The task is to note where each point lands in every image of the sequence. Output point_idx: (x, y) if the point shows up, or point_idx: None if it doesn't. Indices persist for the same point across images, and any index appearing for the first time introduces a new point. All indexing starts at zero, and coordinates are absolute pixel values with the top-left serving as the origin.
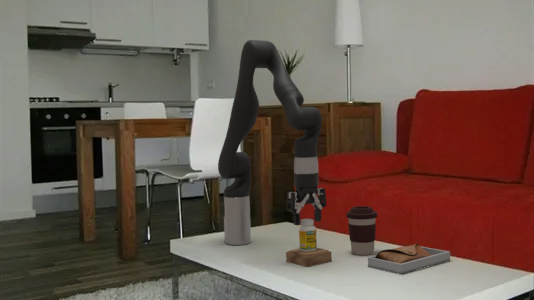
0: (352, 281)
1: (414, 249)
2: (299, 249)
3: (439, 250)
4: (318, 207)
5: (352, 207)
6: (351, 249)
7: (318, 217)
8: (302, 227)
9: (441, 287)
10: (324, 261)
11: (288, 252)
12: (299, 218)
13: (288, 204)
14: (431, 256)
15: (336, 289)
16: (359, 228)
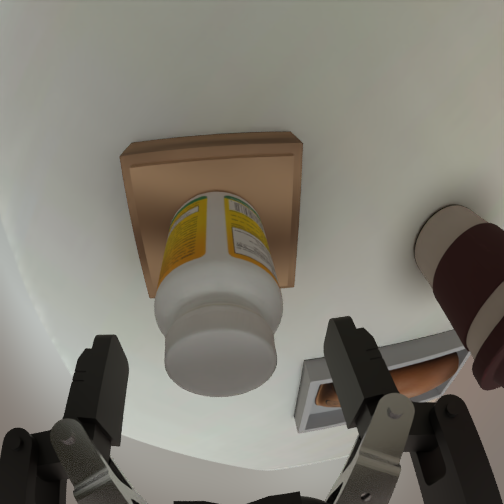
0: (177, 408)
1: (408, 397)
2: (190, 186)
3: (446, 385)
4: (350, 452)
5: None
6: (434, 224)
7: (332, 374)
8: (166, 331)
9: (270, 456)
10: None
11: (124, 172)
12: (118, 410)
13: (10, 489)
14: None
15: None
16: (458, 334)
